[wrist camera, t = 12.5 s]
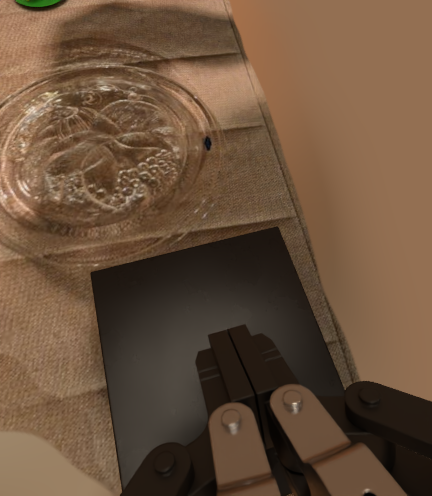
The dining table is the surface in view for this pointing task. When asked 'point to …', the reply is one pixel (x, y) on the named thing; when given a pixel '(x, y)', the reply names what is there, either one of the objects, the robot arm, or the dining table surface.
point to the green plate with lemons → (37, 2)
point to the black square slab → (198, 335)
